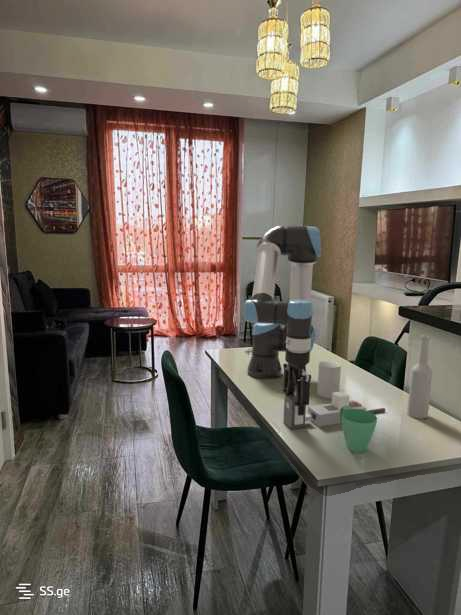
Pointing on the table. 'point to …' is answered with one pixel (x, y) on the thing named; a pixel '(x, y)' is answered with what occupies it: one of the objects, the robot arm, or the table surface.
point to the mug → (357, 428)
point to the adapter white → (340, 399)
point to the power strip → (333, 413)
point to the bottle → (420, 383)
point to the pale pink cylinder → (328, 378)
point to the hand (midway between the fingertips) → (294, 419)
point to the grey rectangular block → (293, 412)
